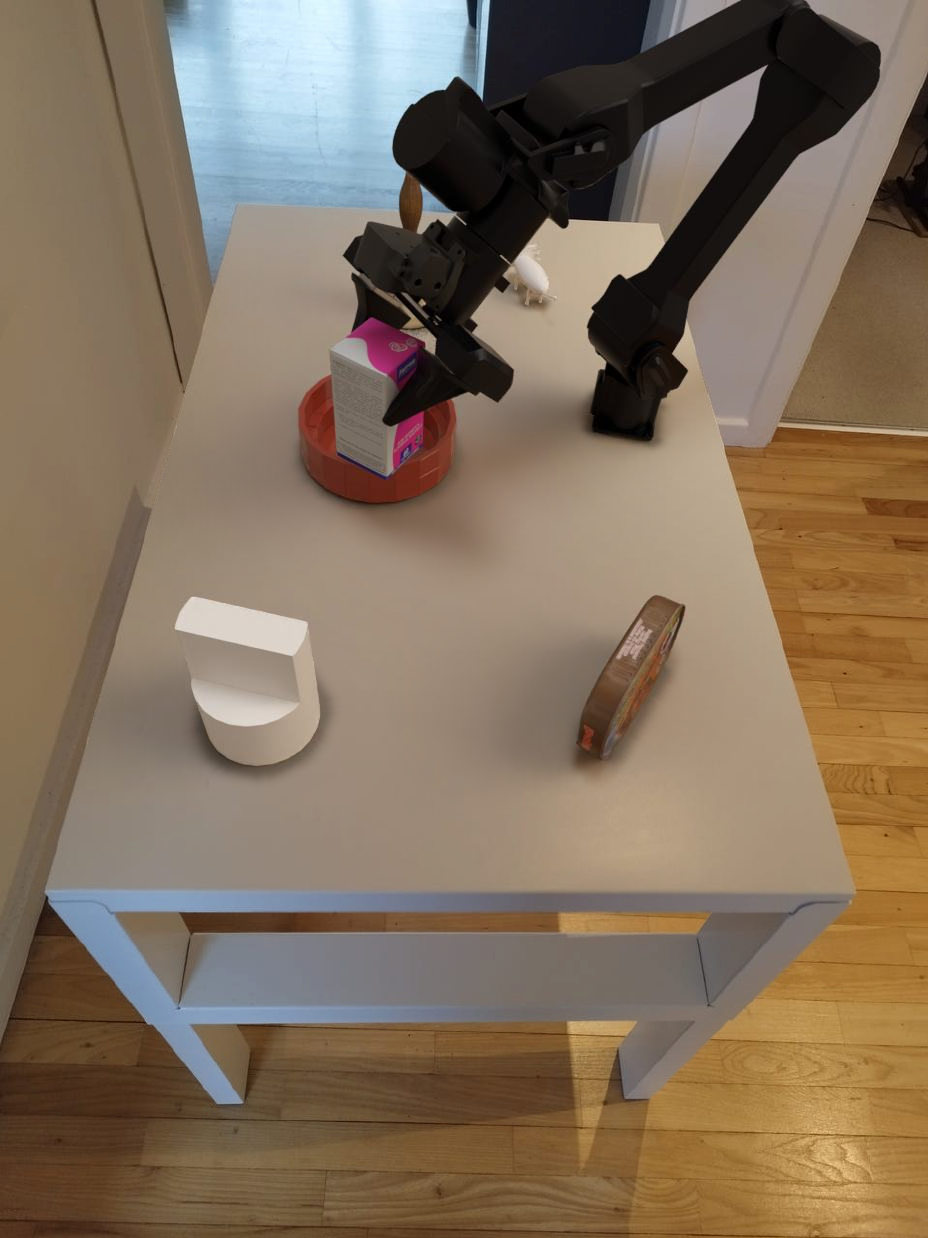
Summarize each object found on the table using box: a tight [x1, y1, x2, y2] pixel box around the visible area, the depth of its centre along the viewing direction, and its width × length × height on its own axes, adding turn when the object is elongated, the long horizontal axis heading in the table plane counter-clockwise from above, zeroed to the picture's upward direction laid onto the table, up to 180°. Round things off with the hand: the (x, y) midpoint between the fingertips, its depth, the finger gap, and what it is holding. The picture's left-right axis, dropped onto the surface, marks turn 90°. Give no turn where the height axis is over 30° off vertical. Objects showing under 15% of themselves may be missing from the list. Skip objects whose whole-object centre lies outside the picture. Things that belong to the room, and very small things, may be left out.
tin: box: [575, 594, 686, 762], centre depth 69 cm, size 15×3×8 cm, turn 148°
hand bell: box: [398, 171, 436, 330], centre depth 98 cm, size 8×8×16 cm
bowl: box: [297, 374, 458, 504], centre depth 87 cm, size 15×15×5 cm
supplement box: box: [329, 317, 426, 480], centre depth 75 cm, size 6×6×12 cm
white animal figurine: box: [501, 241, 558, 306], centre depth 105 cm, size 12×5×5 cm, turn 21°
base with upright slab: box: [174, 596, 321, 767], centre depth 65 cm, size 9×9×12 cm
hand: (364, 397), depth 74 cm, fingers closed on supplement box, 7 cm apart
